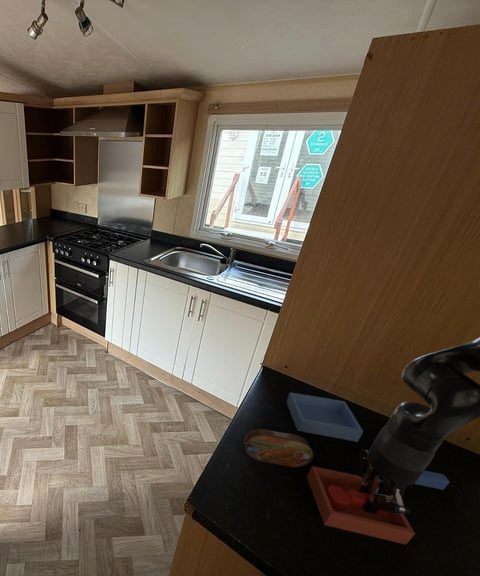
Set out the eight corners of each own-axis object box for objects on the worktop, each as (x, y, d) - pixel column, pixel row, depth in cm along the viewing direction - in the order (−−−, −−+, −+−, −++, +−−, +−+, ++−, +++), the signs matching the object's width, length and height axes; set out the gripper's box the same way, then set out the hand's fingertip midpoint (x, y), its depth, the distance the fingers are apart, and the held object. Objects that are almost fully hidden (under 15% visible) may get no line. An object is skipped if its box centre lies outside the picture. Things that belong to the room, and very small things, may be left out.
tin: (242, 457, 79) (249, 434, 75) (240, 446, 82) (247, 424, 78) (308, 471, 76) (319, 448, 72) (303, 459, 79) (314, 436, 75)
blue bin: (340, 411, 93) (345, 401, 91) (357, 442, 83) (363, 431, 81) (286, 402, 96) (289, 392, 94) (297, 430, 86) (301, 420, 85)
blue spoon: (434, 477, 75) (440, 470, 73) (446, 494, 71) (453, 486, 70) (382, 467, 77) (387, 459, 76) (391, 483, 73) (397, 475, 72)
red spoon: (377, 500, 68) (383, 492, 67) (388, 520, 65) (394, 512, 64) (322, 488, 71) (327, 480, 69) (329, 506, 67) (334, 498, 66)
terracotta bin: (377, 492, 72) (384, 481, 70) (406, 544, 62) (415, 533, 61) (306, 476, 75) (311, 465, 73) (324, 524, 66) (330, 513, 64)
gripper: (451, 492, 53) (405, 546, 61) (401, 426, 65) (368, 478, 72) (399, 481, 54) (361, 535, 62) (359, 419, 66) (332, 470, 74)
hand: (365, 504), depth 67 cm, fingers closed on red spoon, 2 cm apart
